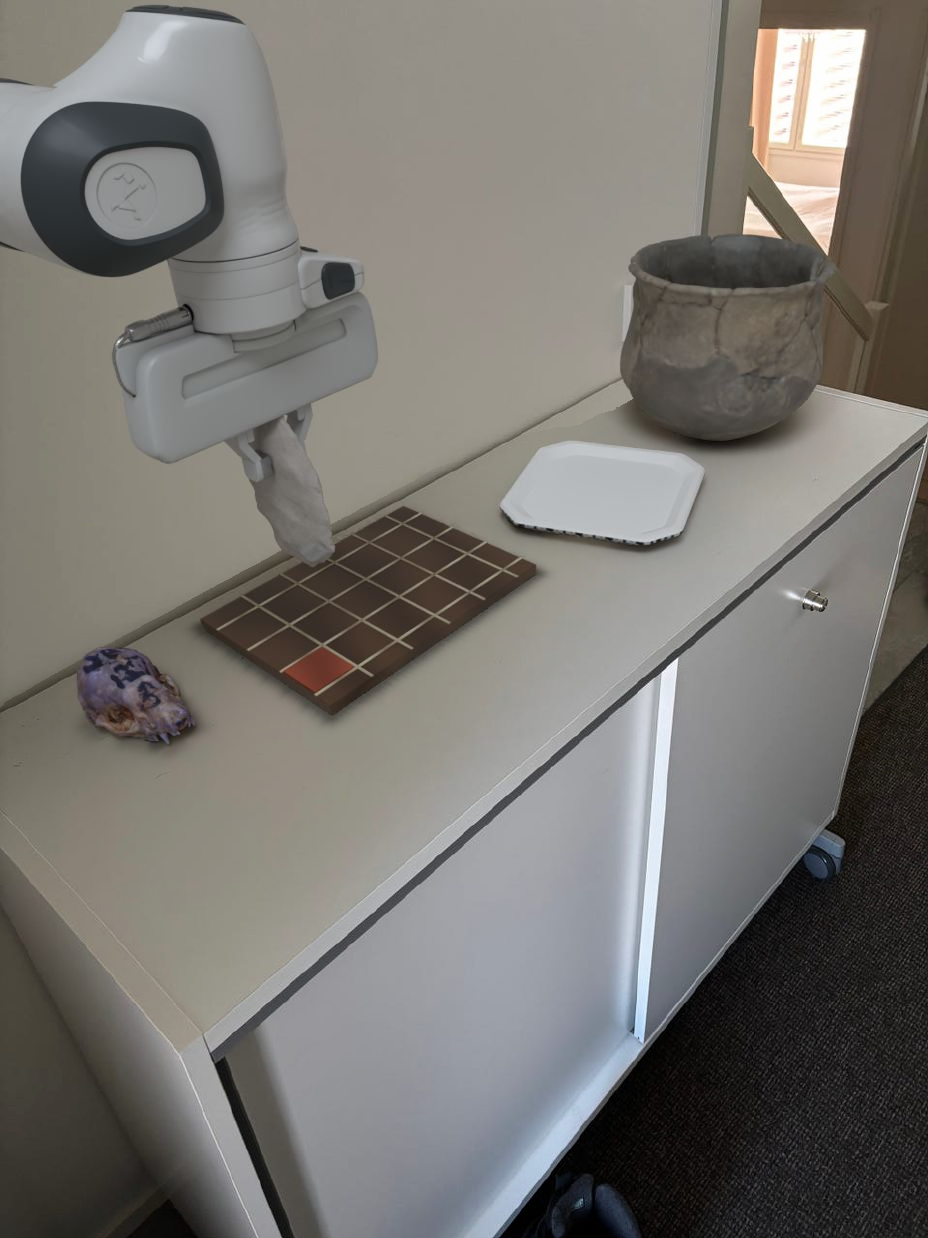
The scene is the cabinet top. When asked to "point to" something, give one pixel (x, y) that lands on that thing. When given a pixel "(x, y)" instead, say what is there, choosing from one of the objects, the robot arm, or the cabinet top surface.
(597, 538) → the plate
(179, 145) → the robot arm
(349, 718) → the cabinet top surface
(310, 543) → the stone tool
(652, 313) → the pot
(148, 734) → the skull
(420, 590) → the board
